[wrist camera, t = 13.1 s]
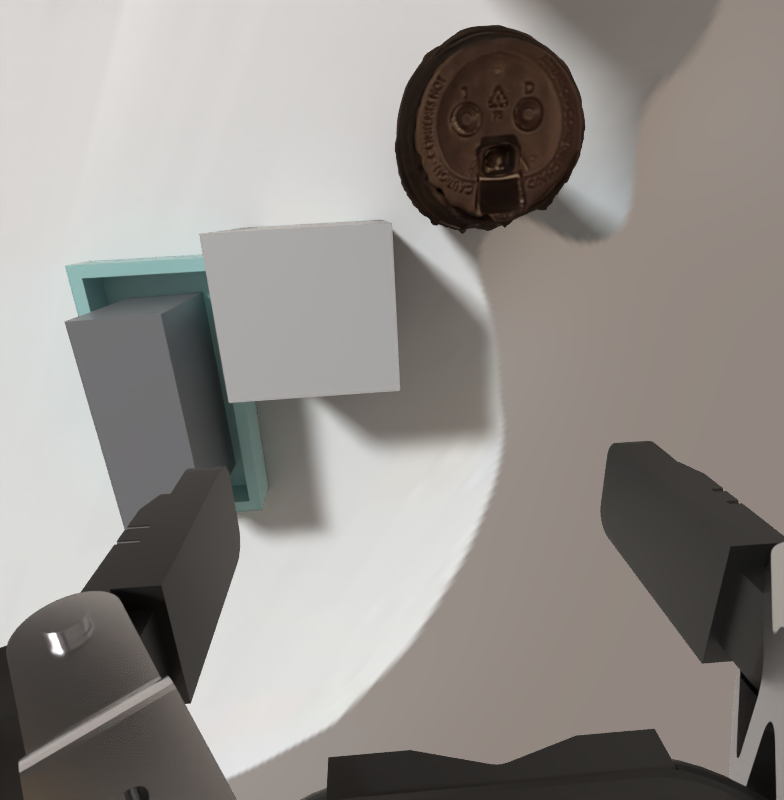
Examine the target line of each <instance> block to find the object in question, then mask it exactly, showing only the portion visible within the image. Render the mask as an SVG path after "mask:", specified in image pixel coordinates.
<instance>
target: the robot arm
mask: <svg viewBox="0 0 784 800" xmlns="http://www.w3.org/2000/svg"><path fill="white" fill-rule="evenodd" d="M601 520H602V525H603V528H604V531H605V533H606V535H607V537H608V538H609V539H610V541H611V542H612V543H613V545H614V546H615V547H616V549H617V550H618V552H619V553H620V554H621V555H622V557H623V558H624V559H625V561H626V562H627V564H628V565H629V566H630V568H631V569H632V570H633V572H634V573H635V574H636V576H637V577H638V578H639V580H640V581H641V582H642V584H643V585H644V586H645V588H646V589H647V590H648V592H649V593H650V594H651V596H652V597H653V598H654V600H655V601H656V602H657V604H658V605H659V606H660V608H661V609H662V610H663V612H664V613H665V615H666V616H667V617H668V618H669V620H670V621H671V622H672V624H673V625H674V627H675V628H676V629H677V631H678V632H679V633H680V635H681V636H682V637H683V639H684V640H685V641H686V643H687V644H688V645H689V647H690V648H691V649H692V650H693V652H694V653H695V655H696V656H697V657H698V659H699V660H700V661H701V663H715V662H725V661H726V662H727V661H733V662H734V663H735V664H736V665H737V667H738V668H739V670H738V673H737V677H736V680H735V685H734V700H733V718H732V735H731V753H730V771H729V778H728V777H725V776H723V775H721V774H718V773H716V772H713V771H711V770H708V769H706V768H703V767H700V766H697V765H693V764H690V763H686V762H683V761H679V760H674V759H671V757H670V756H669V754H668V752H667V750H666V749H665V747H664V745H663V743H662V741H661V740H660V738H659V736H658V734H657V733H656V731H655V729H647V730H636V731H624V732H613V733H601V734H590V735H580V736H579V735H578V736H574V737H572V738H569V739H567V740H564V741H562V742H559V743H556V744H554V745H551V746H549V747H546V748H544V749H541V750H539V751H536V752H534V753H531V754H528V755H526V756H523V757H521V758H518V759H516V760H513V761H511V762H508V763H505V764H499V765H494V764H486V763H480V762H475V761H468V760H463V759H458V758H451V757H446V756H440V755H435V754H428V753H423V752H418V751H412V750H408V751H397V752H384V753H373V754H363V755H351V756H340V757H329V758H328V778H327V788H325V789H323V790H320V791H317V792H315V793H312V794H310V795H309V796H307V797H305V798H303V799H301V800H784V536H783V535H782V534H780V533H779V532H778V531H777V530H775V529H774V528H773V527H771V526H770V525H769V524H768V523H766V522H765V521H764V520H763V519H761V518H760V517H759V516H757V515H756V514H755V513H754V512H752V511H751V510H750V509H749V508H747V507H746V506H745V505H743V504H739V503H738V500H737V499H736V498H735V497H733V496H732V495H731V494H729V493H728V492H727V491H723V488H722V487H721V486H719V485H718V484H717V483H715V482H714V481H713V480H712V479H710V478H709V477H708V476H707V475H705V474H704V473H701V472H699V471H697V470H694V469H693V468H691V467H688V466H686V465H684V464H682V463H680V462H677V461H676V460H674V459H673V458H672V457H671V456H670V455H668V454H667V453H666V452H665V451H663V450H662V449H661V448H660V447H659V446H657V445H656V444H655V443H653V442H651V441H641V442H624V443H614V444H612V445H611V446H610V448H609V450H608V455H607V462H606V469H605V478H604V485H603V492H602V500H601ZM239 552H240V532H239V526H238V520H237V514H236V508H235V502H234V497H233V491H232V485H231V479H230V475H229V472H228V469H227V468H226V467H225V466H222V467H205V468H189V469H187V470H186V471H185V472H184V473H183V475H182V477H181V478H180V480H179V481H178V483H177V484H176V486H175V488H174V489H173V491H172V492H171V494H160V495H159V496H157V497H156V498H155V499H153V500H152V501H150V502H149V503H148V504H146V505H145V506H144V507H142V508H141V509H139V511H138V512H137V514H136V515H135V516H134V518H133V519H132V521H131V522H130V523H129V525H128V526H127V530H125V531H124V532H123V533H122V535H121V536H120V538H119V539H118V540H117V545H114V546H113V547H112V549H111V550H110V552H109V553H108V554H107V556H106V557H105V559H104V560H103V562H102V563H101V564H100V566H99V567H98V569H97V570H96V571H95V573H94V574H93V576H92V577H91V578H90V580H89V581H88V583H87V584H86V586H85V587H84V588H83V590H82V591H81V593H77V594H73V595H70V596H66V597H64V598H61V599H59V600H56V601H54V602H52V603H50V604H48V605H46V606H45V607H43V608H41V609H39V610H38V611H37V612H35V613H34V614H32V615H31V616H30V617H28V618H27V619H26V620H25V621H24V622H23V623H22V624H21V625H20V626H19V627H18V628H17V629H16V630H15V632H14V633H13V634H12V636H11V638H10V639H9V641H8V644H7V646H4V647H1V648H0V800H237V799H236V797H235V795H234V793H233V792H232V790H231V788H230V786H229V784H228V782H227V781H226V779H225V777H224V775H223V773H222V771H221V770H220V768H219V766H218V764H217V762H216V760H215V758H214V757H213V755H212V753H211V751H210V749H209V747H208V746H207V744H206V742H205V740H204V738H203V736H202V735H201V733H200V731H199V729H198V727H197V725H196V723H195V722H194V720H193V718H192V716H191V714H190V712H189V711H188V709H187V707H186V705H185V704H189V703H191V701H192V698H193V695H194V692H195V689H196V686H197V683H198V680H199V677H200V674H201V671H202V668H203V665H204V662H205V659H206V656H207V653H208V650H209V647H210V644H211V641H212V638H213V635H214V632H215V629H216V626H217V623H218V620H219V617H220V614H221V611H222V608H223V605H224V602H225V599H226V596H227V593H228V590H229V587H230V584H231V581H232V578H233V575H234V572H235V569H236V566H237V562H238V558H239Z"/></svg>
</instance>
